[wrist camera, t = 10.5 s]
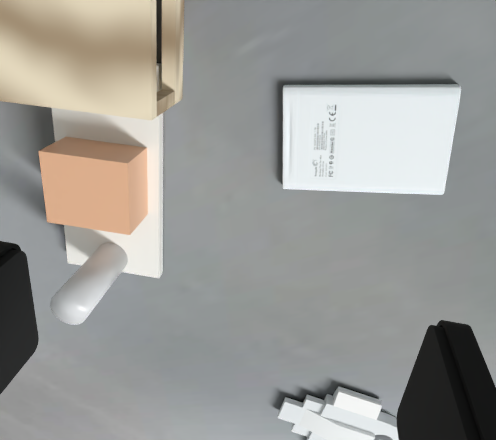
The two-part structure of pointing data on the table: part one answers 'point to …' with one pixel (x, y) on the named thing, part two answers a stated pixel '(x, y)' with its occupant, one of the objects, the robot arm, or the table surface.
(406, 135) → the external hard drive
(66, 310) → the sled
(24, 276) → the robot arm
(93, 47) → the tunnel
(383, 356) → the table surface
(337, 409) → the toy rocket
